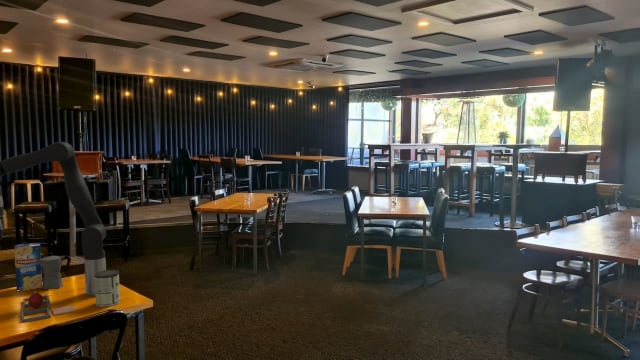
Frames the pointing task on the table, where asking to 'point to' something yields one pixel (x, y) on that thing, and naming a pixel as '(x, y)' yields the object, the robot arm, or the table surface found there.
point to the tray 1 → (43, 298)
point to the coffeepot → (53, 270)
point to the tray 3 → (35, 313)
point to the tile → (63, 310)
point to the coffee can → (107, 288)
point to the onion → (35, 300)
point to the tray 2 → (36, 309)
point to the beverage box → (28, 266)
